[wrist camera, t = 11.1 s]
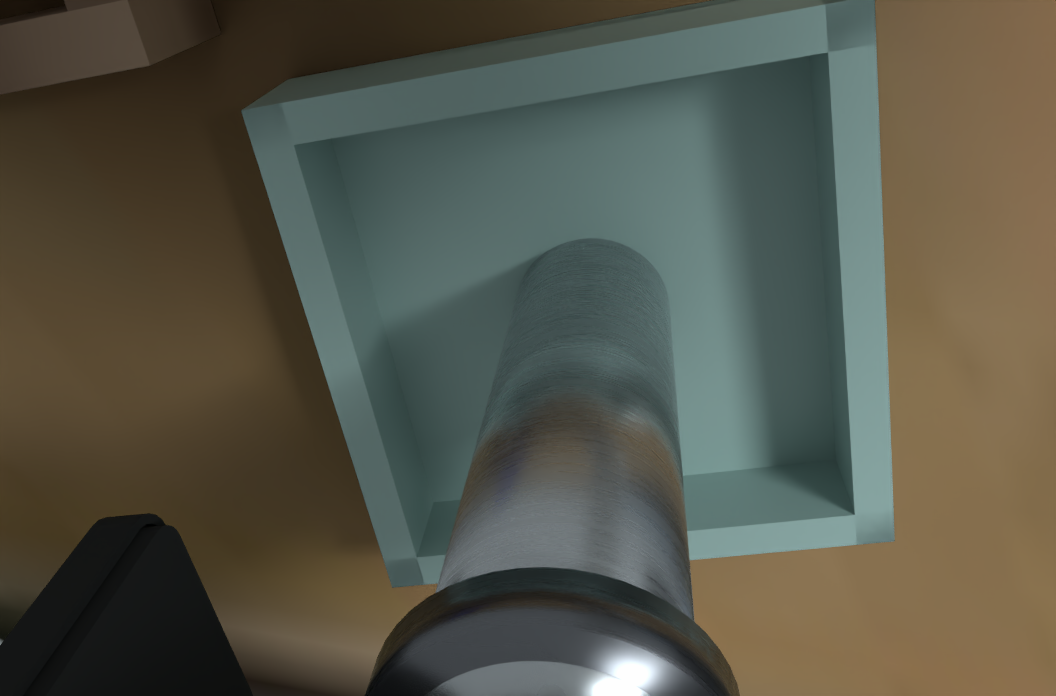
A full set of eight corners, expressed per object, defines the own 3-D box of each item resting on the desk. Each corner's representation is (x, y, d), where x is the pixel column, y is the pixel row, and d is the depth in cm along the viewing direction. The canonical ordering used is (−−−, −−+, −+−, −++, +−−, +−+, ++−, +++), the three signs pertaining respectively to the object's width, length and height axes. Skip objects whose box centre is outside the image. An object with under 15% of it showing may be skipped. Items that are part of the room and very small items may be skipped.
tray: (841, -24, 17) (874, -5, 14) (866, 467, 21) (894, 540, 19) (287, 79, 18) (240, 110, 16) (415, 515, 23) (392, 587, 20)
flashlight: (678, 203, 18) (729, 609, 8) (701, 384, 20) (766, 904, 10) (477, 233, 19) (304, 643, 9) (515, 406, 20) (404, 915, 10)
